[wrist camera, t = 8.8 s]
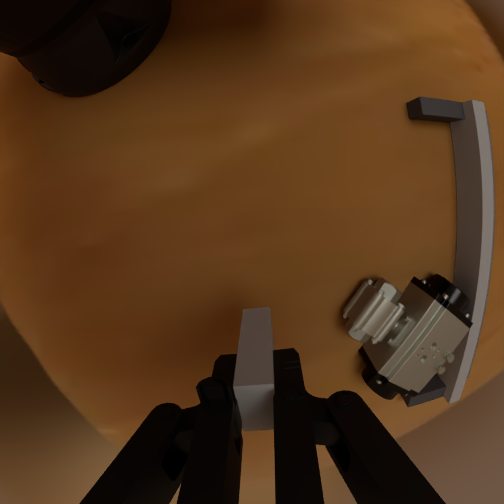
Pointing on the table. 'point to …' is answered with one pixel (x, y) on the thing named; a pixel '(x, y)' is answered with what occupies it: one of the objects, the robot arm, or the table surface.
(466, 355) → the curved pull handle
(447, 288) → the pneumatic valve
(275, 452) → the robot arm
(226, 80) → the table surface
